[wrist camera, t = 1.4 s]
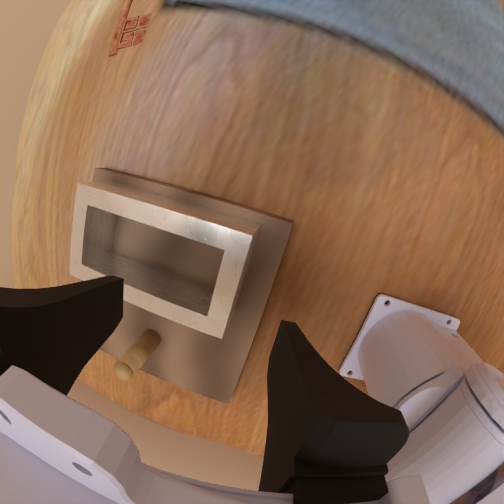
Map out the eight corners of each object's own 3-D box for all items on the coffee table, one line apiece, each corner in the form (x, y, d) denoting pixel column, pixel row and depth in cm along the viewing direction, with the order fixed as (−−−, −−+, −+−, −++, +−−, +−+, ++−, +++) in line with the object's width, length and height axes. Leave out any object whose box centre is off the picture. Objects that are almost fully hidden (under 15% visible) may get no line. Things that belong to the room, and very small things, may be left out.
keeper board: (293, 220, 19) (294, 242, 12) (232, 393, 24) (214, 451, 17) (105, 168, 20) (43, 168, 13) (90, 332, 25) (48, 368, 18)
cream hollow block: (260, 224, 18) (252, 235, 14) (234, 310, 20) (221, 338, 16) (111, 181, 19) (78, 183, 15) (100, 259, 21) (69, 273, 17)
